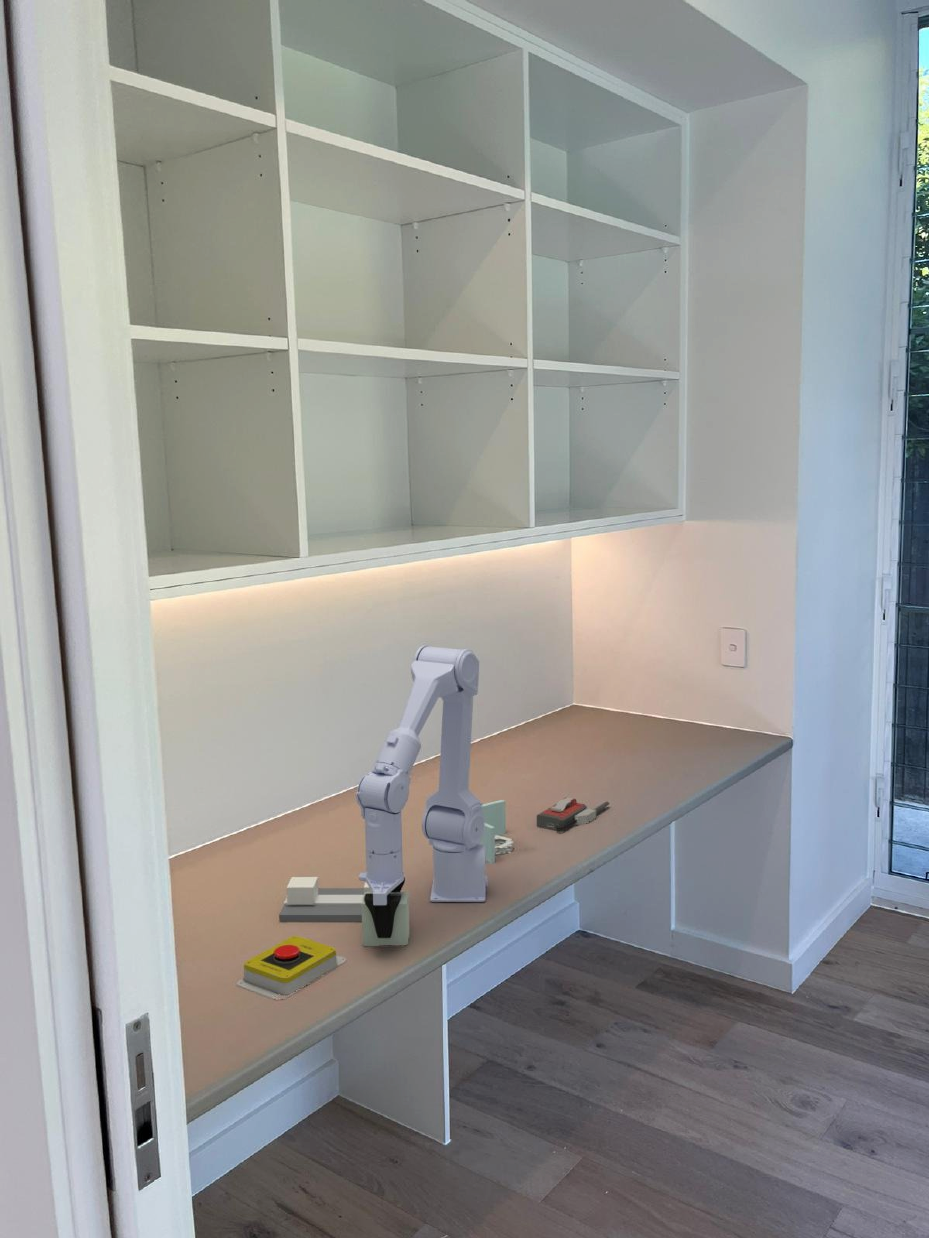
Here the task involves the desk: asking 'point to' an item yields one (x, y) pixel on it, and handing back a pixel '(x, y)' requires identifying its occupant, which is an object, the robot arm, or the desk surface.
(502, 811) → the l-shaped corner panel
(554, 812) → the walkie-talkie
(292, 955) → the emergency button
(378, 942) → the block
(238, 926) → the desk surface
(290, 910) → the rail board
